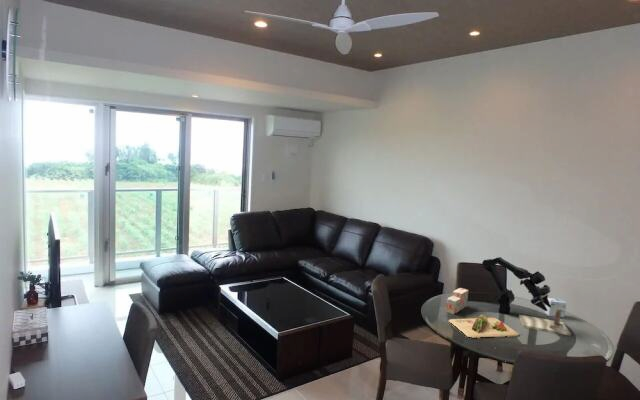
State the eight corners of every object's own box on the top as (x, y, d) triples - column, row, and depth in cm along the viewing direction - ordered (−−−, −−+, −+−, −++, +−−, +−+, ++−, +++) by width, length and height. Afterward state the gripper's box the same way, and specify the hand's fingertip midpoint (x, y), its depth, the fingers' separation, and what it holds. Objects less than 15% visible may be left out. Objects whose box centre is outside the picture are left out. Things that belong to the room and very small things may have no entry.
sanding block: (549, 328, 243) (551, 310, 242) (551, 324, 248) (554, 307, 247) (560, 331, 239) (562, 313, 238) (562, 328, 244) (565, 310, 243)
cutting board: (494, 319, 256) (496, 309, 255) (520, 337, 233) (521, 325, 232) (447, 321, 248) (448, 310, 247) (468, 340, 225) (469, 327, 224)
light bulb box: (559, 313, 272) (562, 298, 270) (564, 317, 265) (567, 302, 264) (544, 312, 273) (546, 297, 271) (548, 316, 266) (550, 301, 265)
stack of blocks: (454, 314, 259) (456, 297, 257) (445, 311, 263) (447, 294, 261) (466, 306, 274) (468, 289, 273) (458, 303, 279) (460, 287, 277)
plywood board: (523, 327, 245) (524, 325, 245) (518, 316, 262) (519, 314, 261) (570, 335, 238) (570, 333, 238) (562, 324, 254) (562, 322, 254)
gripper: (538, 284, 241) (556, 307, 235) (546, 278, 254) (563, 299, 248) (523, 293, 247) (540, 315, 241) (531, 286, 261) (547, 307, 255)
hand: (548, 309), depth 246 cm, fingers open, 9 cm apart
